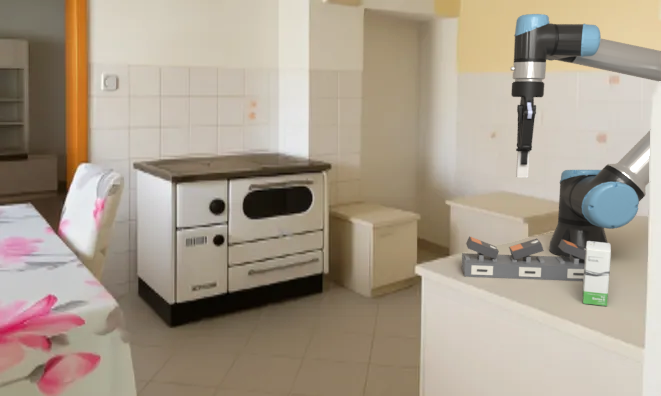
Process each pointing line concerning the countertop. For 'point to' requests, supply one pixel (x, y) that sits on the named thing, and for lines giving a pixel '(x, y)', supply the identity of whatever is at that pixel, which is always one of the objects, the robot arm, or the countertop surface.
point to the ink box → (596, 273)
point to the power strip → (524, 267)
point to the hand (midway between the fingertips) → (522, 177)
